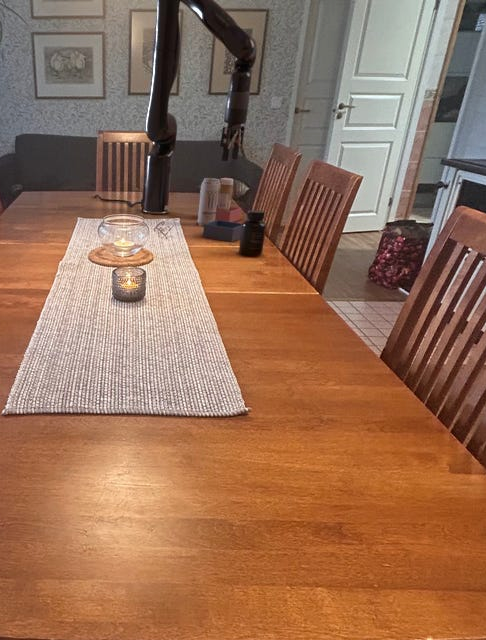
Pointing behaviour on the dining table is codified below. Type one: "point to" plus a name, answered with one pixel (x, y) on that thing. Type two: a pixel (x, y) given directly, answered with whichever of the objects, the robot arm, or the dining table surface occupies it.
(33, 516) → the dining table surface
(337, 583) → the dining table surface
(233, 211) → the rose bin
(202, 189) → the energy drink can
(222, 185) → the sprinkles bottle
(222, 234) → the slate bin
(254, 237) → the supplement bottle
